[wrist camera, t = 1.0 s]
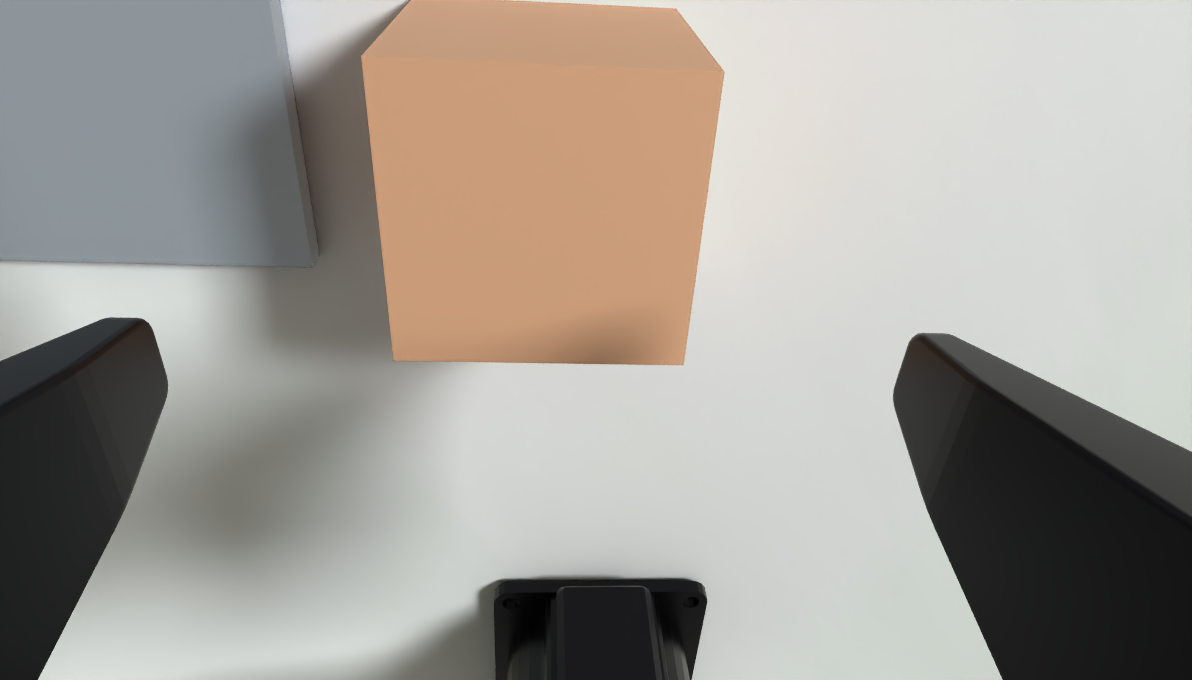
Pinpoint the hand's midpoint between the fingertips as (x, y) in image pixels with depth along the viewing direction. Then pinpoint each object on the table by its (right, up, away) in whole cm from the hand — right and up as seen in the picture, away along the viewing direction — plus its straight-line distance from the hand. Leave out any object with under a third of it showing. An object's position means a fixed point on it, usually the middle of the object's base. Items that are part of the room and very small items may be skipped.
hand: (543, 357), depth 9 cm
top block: (0, +5, +7) cm, 8 cm away
